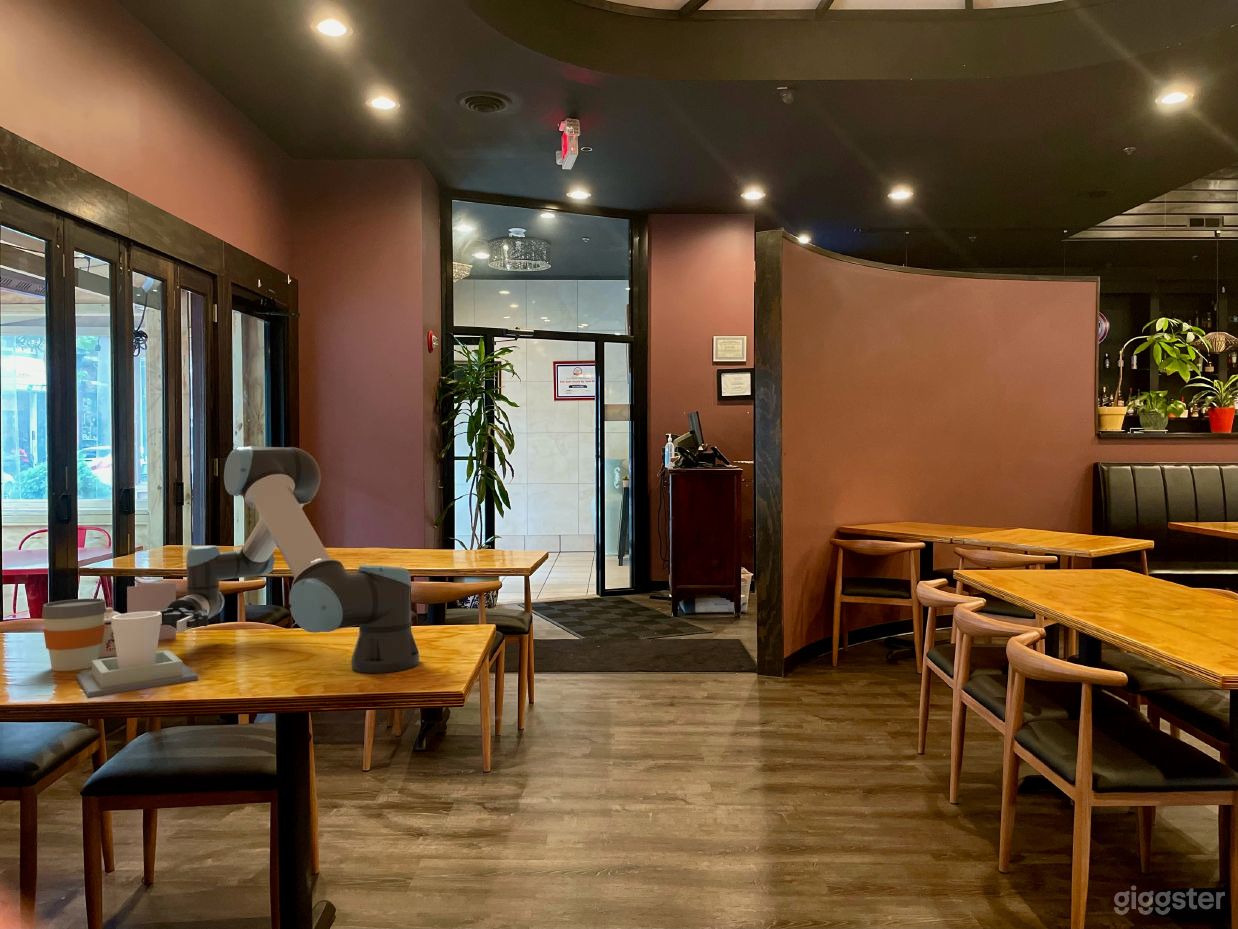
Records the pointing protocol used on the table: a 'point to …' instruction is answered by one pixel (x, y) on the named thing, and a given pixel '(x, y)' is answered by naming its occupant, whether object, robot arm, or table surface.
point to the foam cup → (136, 638)
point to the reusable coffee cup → (73, 632)
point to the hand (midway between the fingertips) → (146, 628)
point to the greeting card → (152, 602)
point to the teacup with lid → (108, 636)
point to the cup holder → (134, 675)
